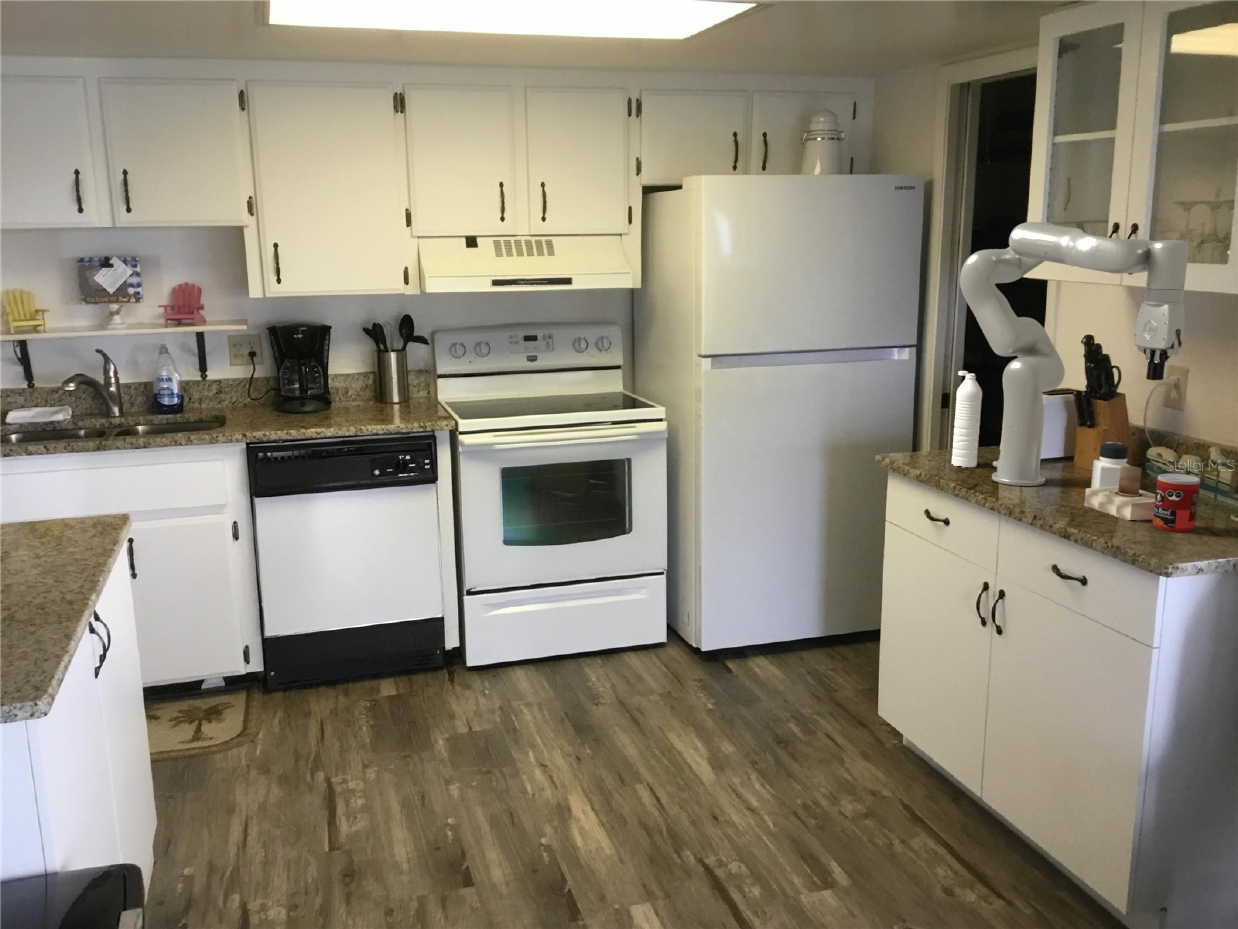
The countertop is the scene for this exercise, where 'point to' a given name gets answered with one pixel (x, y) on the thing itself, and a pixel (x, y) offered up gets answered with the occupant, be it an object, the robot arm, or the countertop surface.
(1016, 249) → the robot arm
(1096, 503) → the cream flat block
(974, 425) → the water bottle
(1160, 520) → the canned food
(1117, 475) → the medicine bottle
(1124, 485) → the peg
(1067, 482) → the countertop surface
